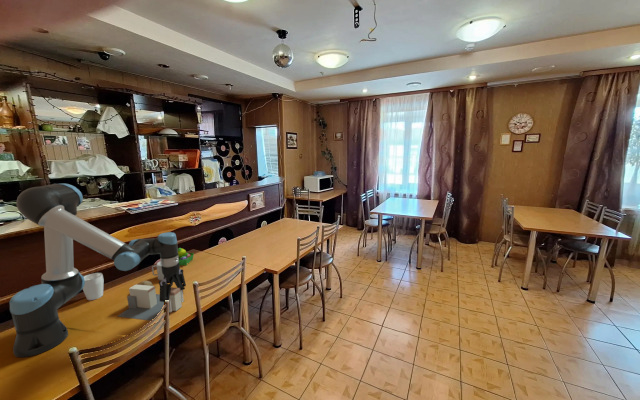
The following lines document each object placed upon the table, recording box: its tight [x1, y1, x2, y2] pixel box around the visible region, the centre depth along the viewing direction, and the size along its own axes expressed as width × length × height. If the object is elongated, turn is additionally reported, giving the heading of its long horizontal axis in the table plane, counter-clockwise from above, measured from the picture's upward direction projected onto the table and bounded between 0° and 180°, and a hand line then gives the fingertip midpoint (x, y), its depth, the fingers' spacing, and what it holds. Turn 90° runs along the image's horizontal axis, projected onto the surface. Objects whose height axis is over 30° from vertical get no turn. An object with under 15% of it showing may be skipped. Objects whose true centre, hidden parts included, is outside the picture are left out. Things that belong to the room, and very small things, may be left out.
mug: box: [151, 260, 164, 281], centre depth 157 cm, size 14×11×10 cm
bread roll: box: [137, 280, 154, 286], centre depth 141 cm, size 10×10×8 cm
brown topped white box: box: [169, 286, 183, 312], centre depth 125 cm, size 4×6×10 cm
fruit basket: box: [178, 247, 195, 266], centre depth 178 cm, size 11×9×11 cm
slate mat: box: [116, 293, 164, 322], centre depth 128 cm, size 20×20×1 cm
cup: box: [82, 272, 105, 301], centre depth 135 cm, size 9×9×12 cm
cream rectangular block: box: [126, 283, 157, 309], centre depth 127 cm, size 6×12×10 cm, turn 81°
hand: (175, 306), depth 125 cm, fingers open, 8 cm apart
